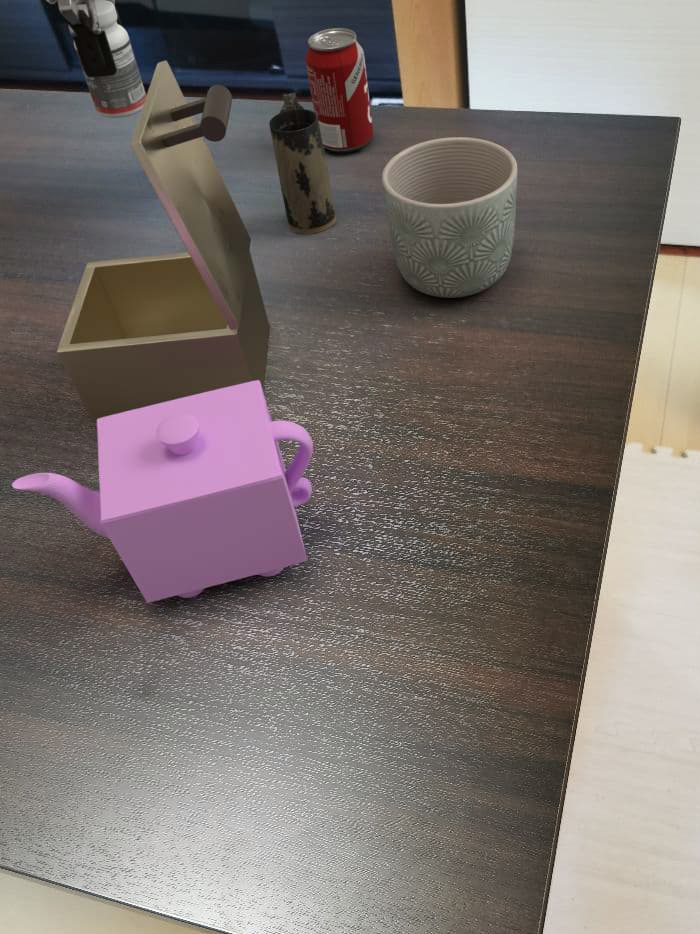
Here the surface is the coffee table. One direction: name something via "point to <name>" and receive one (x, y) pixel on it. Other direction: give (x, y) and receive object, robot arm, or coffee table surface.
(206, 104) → the lid
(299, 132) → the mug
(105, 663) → the coffee table surface
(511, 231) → the planter
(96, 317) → the tan open box
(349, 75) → the soda can
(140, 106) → the pill bottle
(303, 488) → the teapot
